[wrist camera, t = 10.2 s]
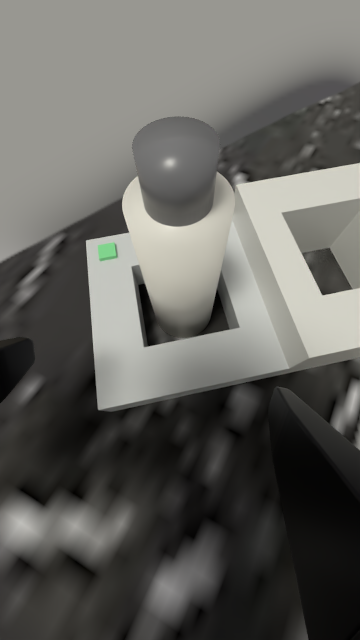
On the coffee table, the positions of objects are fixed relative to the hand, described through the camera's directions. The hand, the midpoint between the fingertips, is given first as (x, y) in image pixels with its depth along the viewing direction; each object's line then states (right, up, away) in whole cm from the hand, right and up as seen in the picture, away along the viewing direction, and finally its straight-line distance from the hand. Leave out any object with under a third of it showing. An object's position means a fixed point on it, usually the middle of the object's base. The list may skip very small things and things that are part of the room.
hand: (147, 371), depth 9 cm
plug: (+1, +2, +9) cm, 10 cm away
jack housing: (+6, +4, +10) cm, 12 cm away
